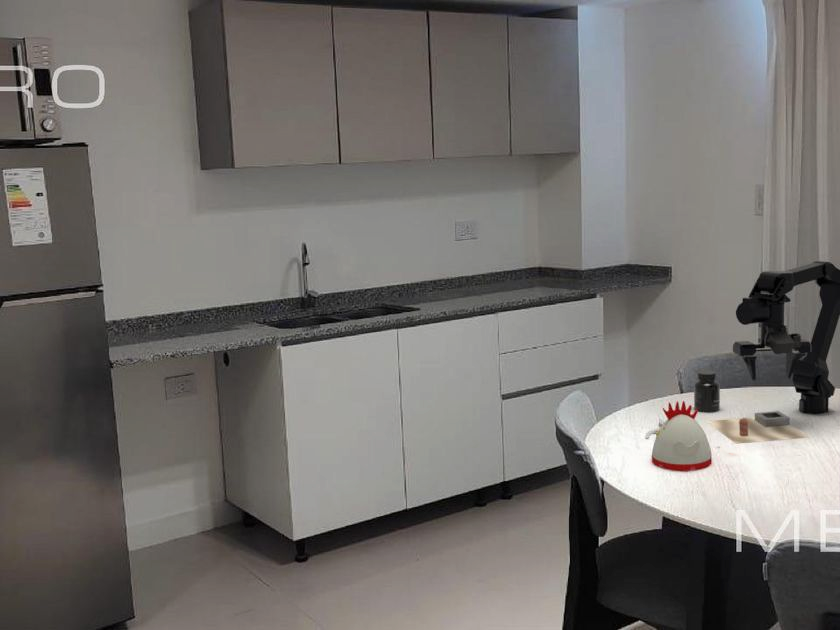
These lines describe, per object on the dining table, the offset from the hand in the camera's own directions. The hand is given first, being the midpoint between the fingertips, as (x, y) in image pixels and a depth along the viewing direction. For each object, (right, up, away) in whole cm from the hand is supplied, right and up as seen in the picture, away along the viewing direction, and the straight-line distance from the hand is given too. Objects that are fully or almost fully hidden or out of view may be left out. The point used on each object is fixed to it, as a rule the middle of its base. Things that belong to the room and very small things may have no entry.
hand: (771, 379), depth 248 cm
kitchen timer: (-28, -19, -18) cm, 39 cm away
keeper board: (-5, -14, -2) cm, 15 cm away
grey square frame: (+1, -11, +2) cm, 12 cm away
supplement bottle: (-11, -11, +18) cm, 24 cm away
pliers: (-26, -15, +6) cm, 31 cm away
